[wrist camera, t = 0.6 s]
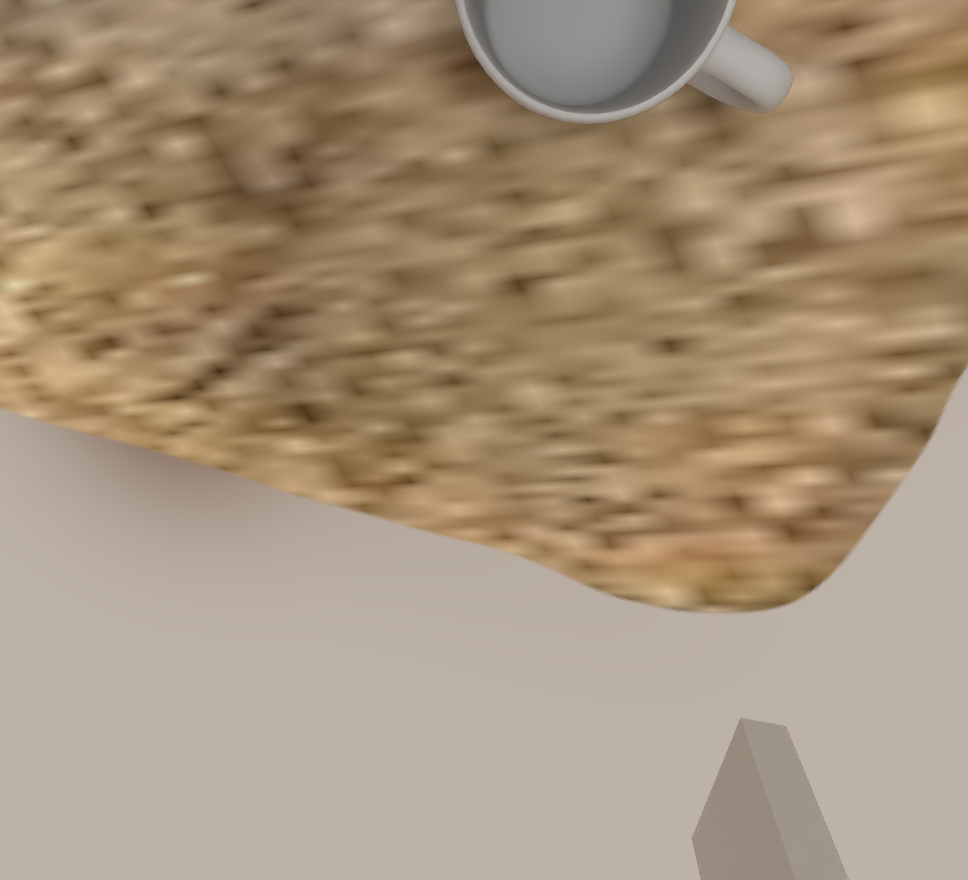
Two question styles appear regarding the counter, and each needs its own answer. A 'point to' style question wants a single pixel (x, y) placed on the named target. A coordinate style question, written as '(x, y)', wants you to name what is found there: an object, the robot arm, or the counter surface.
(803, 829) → the robot arm
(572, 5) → the mug
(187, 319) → the counter surface
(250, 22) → the counter surface
